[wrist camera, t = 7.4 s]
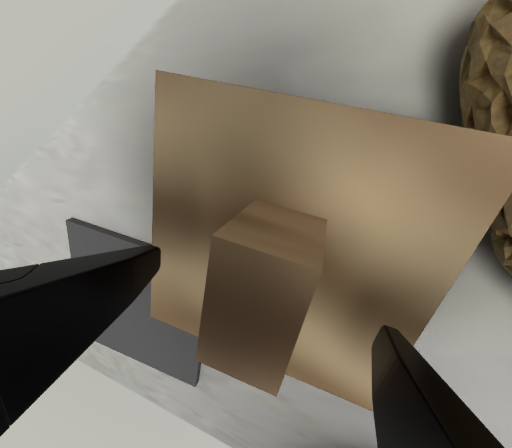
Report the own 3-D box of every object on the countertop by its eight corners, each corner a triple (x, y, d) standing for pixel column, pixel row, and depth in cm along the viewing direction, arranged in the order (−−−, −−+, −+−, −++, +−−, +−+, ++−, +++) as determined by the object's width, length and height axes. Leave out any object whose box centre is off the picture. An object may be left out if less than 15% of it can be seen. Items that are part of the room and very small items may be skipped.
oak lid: (368, 391, 13) (386, 527, 8) (161, 305, 16) (91, 375, 11) (519, 141, 8) (768, 152, 3) (171, 75, 10) (47, 31, 6)
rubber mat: (198, 381, 24) (195, 387, 24) (87, 331, 27) (82, 335, 27) (213, 266, 19) (210, 270, 18) (72, 217, 22) (65, 220, 21)
